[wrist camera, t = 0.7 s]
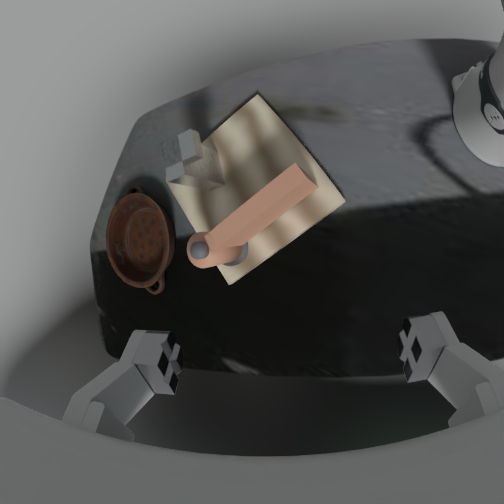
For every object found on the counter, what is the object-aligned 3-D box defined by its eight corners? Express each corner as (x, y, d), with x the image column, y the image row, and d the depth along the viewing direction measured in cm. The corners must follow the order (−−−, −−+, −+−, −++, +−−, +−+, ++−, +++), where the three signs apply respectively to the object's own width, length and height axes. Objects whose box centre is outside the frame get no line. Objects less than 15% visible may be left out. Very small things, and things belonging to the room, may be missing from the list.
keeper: (237, 181, 47) (198, 168, 36) (210, 190, 49) (167, 182, 38) (229, 147, 47) (191, 128, 36) (203, 158, 49) (161, 143, 38)
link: (225, 267, 48) (194, 276, 39) (209, 242, 49) (176, 245, 40) (323, 194, 41) (311, 185, 33) (303, 167, 42) (286, 152, 33)
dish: (136, 299, 60) (120, 304, 55) (113, 204, 61) (96, 203, 56) (198, 282, 53) (182, 286, 49) (168, 171, 54) (152, 167, 49)
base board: (260, 97, 46) (256, 93, 44) (346, 201, 42) (345, 200, 40) (169, 180, 54) (163, 179, 52) (232, 283, 50) (227, 285, 48)
